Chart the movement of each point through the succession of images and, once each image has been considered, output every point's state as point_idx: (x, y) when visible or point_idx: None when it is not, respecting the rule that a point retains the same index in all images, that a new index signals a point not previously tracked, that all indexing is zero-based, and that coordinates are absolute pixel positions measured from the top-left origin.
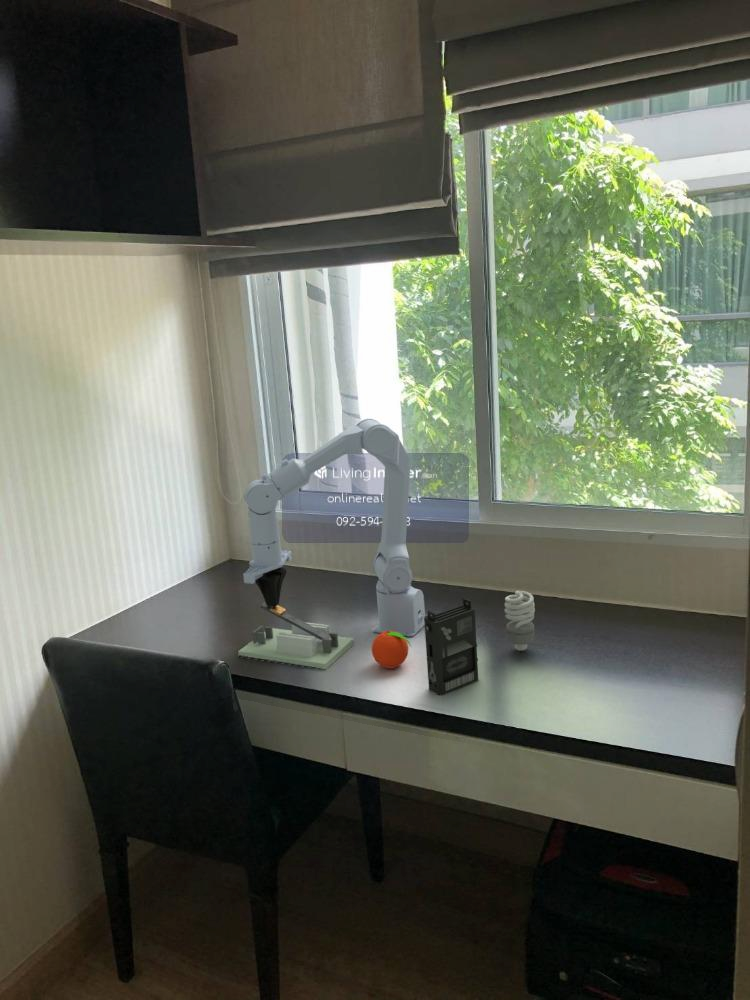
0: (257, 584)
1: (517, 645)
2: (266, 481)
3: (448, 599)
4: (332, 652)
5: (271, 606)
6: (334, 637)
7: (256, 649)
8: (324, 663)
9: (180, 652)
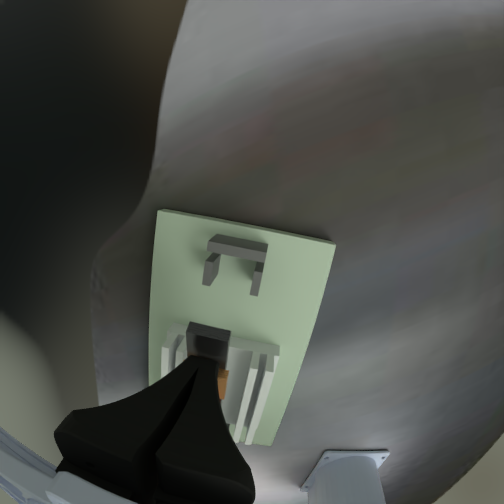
0: (110, 406)
1: None
2: None
3: (435, 477)
4: None
5: (214, 360)
6: None
7: (176, 261)
8: None
9: (179, 37)
